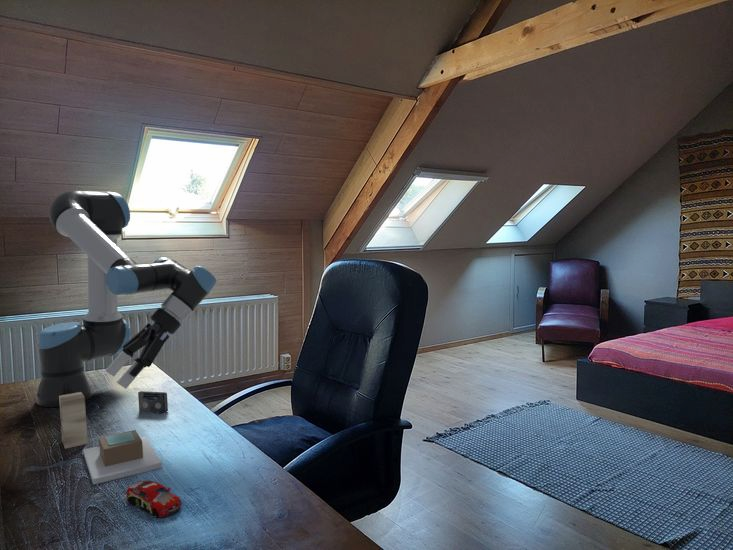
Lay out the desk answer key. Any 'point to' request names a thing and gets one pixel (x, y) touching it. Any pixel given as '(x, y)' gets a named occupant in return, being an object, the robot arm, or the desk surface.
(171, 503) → the race car
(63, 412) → the maple pillar
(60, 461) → the desk surface
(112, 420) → the desk surface
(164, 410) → the mini dv tape
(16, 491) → the desk surface
